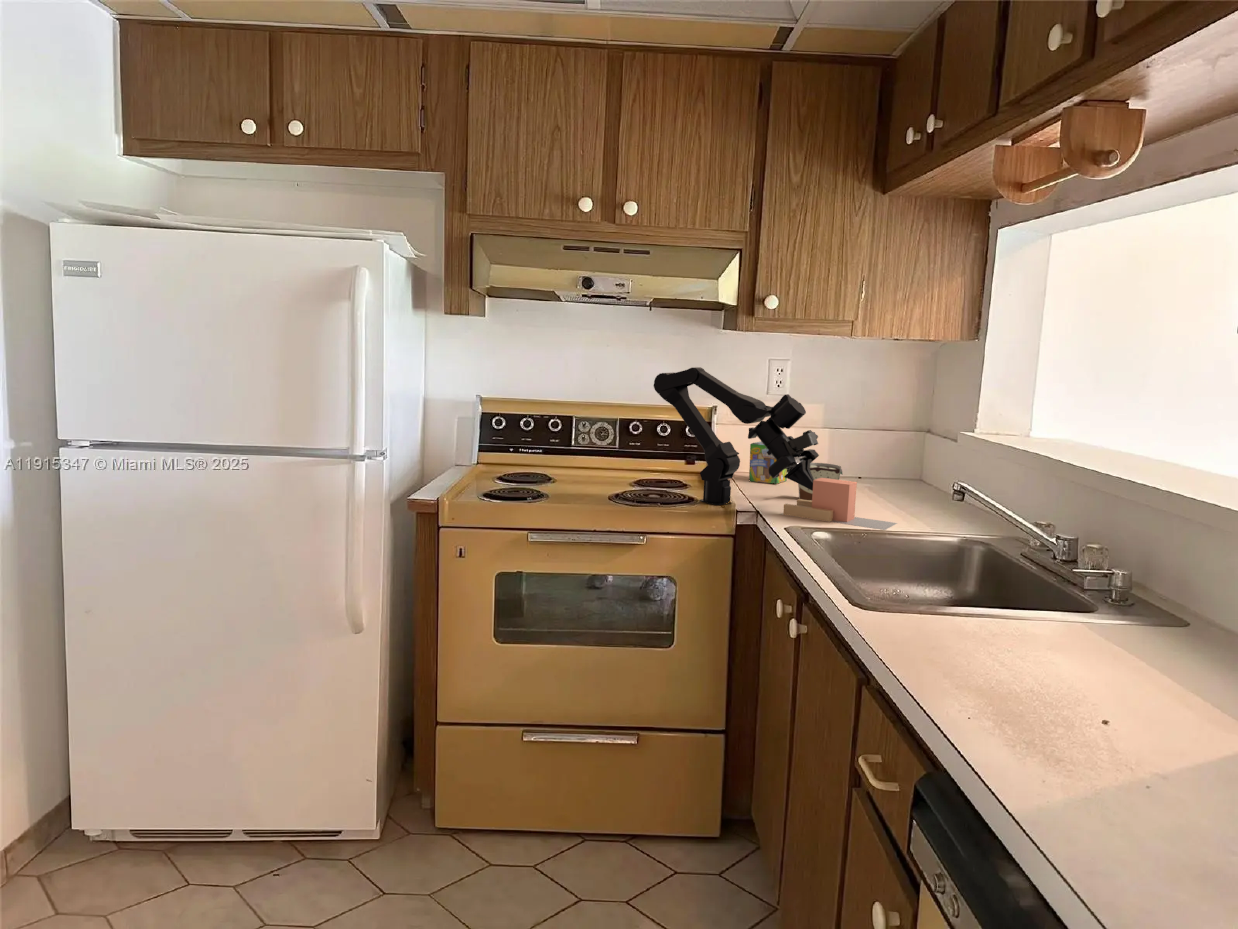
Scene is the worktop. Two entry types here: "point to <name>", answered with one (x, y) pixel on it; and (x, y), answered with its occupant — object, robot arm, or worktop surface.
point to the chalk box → (762, 465)
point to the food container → (820, 472)
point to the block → (835, 497)
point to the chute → (829, 515)
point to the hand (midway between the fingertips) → (815, 489)
